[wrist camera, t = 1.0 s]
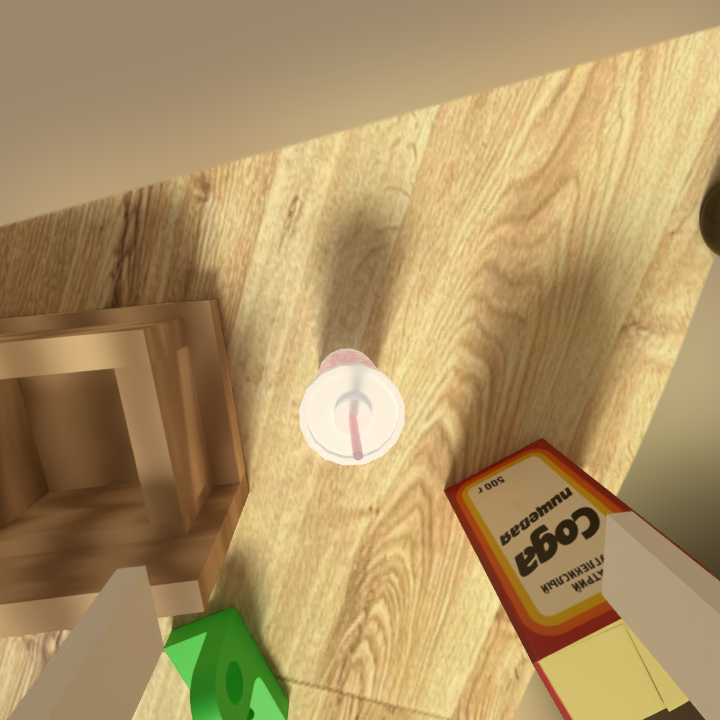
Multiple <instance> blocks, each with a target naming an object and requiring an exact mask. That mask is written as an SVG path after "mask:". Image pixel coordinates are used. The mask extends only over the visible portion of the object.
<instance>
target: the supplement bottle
mask: <svg viewBox="0 0 720 720" xmlns="http://www.w3.org/2000/svg"><path fill="white" fill-rule="evenodd" d="M700 226H701V233H702V236H703V239H704V241H705V243H706V245H707V246H708V247H709V248H710V250H711V251H713V252H714V253H715V254H717V255H718V256H720V182H719V183H718V184H717V185H716V186H715V187H714V188H713V190H712V191H711V192H710V194H709V196H708V197H707V199H706V201H705V203H704V206H703V209H702V213H701V220H700Z"/></svg>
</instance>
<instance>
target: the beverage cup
mask: <svg viewBox="0 0 720 720" xmlns="http://www.w3.org/2000/svg"><path fill="white" fill-rule="evenodd" d="M299 413H300V429H301V431H302V433H303V435H304V437H305V439H306V441H307V443H308V445H309V446H310V447H311V448H312V449H313V450H314V451H316V452H317V453H318V454H319V455H320V456H322V457H323V458H324V459H326V460H329V461H332V462H335V463H338V464H341V465H358V464H365V463H368V462H370V461H372V460H375V459H377V458H379V457H382V456H383V455H384V454H385V453H386V452H387V451H388V450H389V449H390V448H391V447H392V446H393V445H394V444H395V443H396V442H397V440H398V438H399V435H400V433H401V431H402V428H403V426H404V402H403V400H402V398H401V395H400V393H399V391H398V389H397V386H396V385H395V384H394V382H393V381H391V380H390V379H389V378H388V377H387V376H386V375H385V374H384V373H383V372H382V371H381V370H380V369H377V368H376V366H375V365H374V364H373V363H372V361H371V360H370V359H369V358H368V357H367V356H366V355H365V354H363V353H362V352H360V351H357V350H354V349H339V350H337V351H335V352H332V353H330V354H329V355H328V356H327V357H326V358H325V359H324V360H323V361H322V363H321V366H320V368H319V371H318V373H317V375H316V378H315V379H314V380H313V381H312V382H311V383H310V384H309V385H308V387H307V389H306V392H305V394H304V397H303V400H302V402H301V405H300V408H299Z"/></svg>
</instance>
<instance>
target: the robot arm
mask: <svg viewBox="0 0 720 720" xmlns="http://www.w3.org/2000/svg"><path fill="white" fill-rule="evenodd" d="M602 595H603V597H604V598H605V599H606V600H607V601H608V603H609V604H610V605H611V606H612V607H613V609H614V610H615V611H616V612H617V613H618V615H619V616H620V617H621V618H622V619H623V621H624V622H625V623H626V624H627V625H628V627H629V628H630V629H631V630H632V631H633V633H634V634H635V635H636V636H637V638H638V639H639V640H640V641H641V642H642V644H643V645H644V646H645V647H646V648H647V650H648V651H649V652H650V653H651V654H652V656H653V657H654V658H655V659H656V660H657V662H658V663H659V664H660V665H661V666H662V668H663V669H664V670H665V671H666V672H667V674H668V675H669V676H670V677H671V678H672V680H673V681H674V682H675V683H676V684H677V686H678V687H679V688H680V689H681V691H682V692H683V693H684V694H685V695H686V697H687V698H688V699H689V700H690V701H691V702H692V704H693V705H694V706H695V707H696V708H697V710H698V711H699V712H700V713H701V715H702V716H703V717H704V718H705V719H706V720H720V581H718V580H717V579H716V578H715V577H714V576H712V575H711V574H710V573H709V572H707V571H706V570H705V569H704V568H702V567H701V566H700V565H699V564H697V563H696V562H695V561H694V560H692V559H691V558H690V557H689V556H687V555H686V554H685V553H684V552H682V551H681V550H680V549H679V548H677V547H676V546H675V545H674V544H672V543H671V542H670V541H669V540H667V539H666V538H665V537H664V536H662V535H661V534H660V533H659V532H657V531H656V530H655V529H654V528H652V527H651V526H650V525H649V524H648V523H646V522H645V521H644V520H643V519H641V518H640V517H639V516H638V515H636V514H635V513H634V512H633V511H630V512H621V513H612V514H607V518H606V534H605V549H604V565H603V580H602ZM163 649H164V645H163V640H162V636H161V632H160V627H159V623H158V619H157V614H156V610H155V605H154V601H153V597H152V592H151V588H150V584H149V579H148V575H147V570H146V566H139V567H130V568H121V569H117V570H116V571H115V572H114V574H113V575H112V576H111V578H110V579H109V581H108V582H107V583H106V585H105V586H104V587H103V589H102V590H101V592H100V593H99V594H98V596H97V597H96V598H95V600H94V601H93V602H92V604H91V605H90V607H89V608H88V609H87V611H86V612H85V613H84V615H83V616H82V618H81V619H80V620H79V622H78V623H77V624H76V626H75V627H74V629H73V630H72V631H71V633H70V634H69V635H68V637H67V638H66V640H65V641H64V642H63V644H62V645H61V646H60V648H59V649H58V651H57V652H56V653H55V655H54V656H53V657H52V659H51V660H50V662H49V663H48V664H47V666H46V667H45V668H44V670H43V671H42V673H41V674H40V675H39V677H38V678H37V679H36V681H35V682H34V684H33V685H32V686H31V688H30V689H29V690H28V692H27V693H26V695H25V696H24V697H23V699H22V700H21V701H20V703H19V704H18V706H17V707H16V708H15V710H14V711H13V712H12V714H11V715H10V717H9V718H8V719H7V720H132V717H133V715H134V713H135V711H136V709H137V706H138V704H139V702H140V700H141V697H142V695H143V693H144V691H145V689H146V686H147V684H148V682H149V680H150V678H151V675H152V673H153V671H154V669H155V666H156V664H157V662H158V660H159V658H160V655H161V653H162V651H163Z"/></svg>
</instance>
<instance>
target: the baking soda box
mask: <svg viewBox="0 0 720 720" xmlns="http://www.w3.org/2000/svg"><path fill="white" fill-rule="evenodd" d="M444 492H445V494H446V496H447V498H448V500H449V502H450V504H451V506H452V508H453V509H454V511H455V513H456V515H457V517H458V519H459V521H460V523H461V525H462V527H463V529H464V531H465V533H466V535H467V537H468V539H469V541H470V543H471V545H472V547H473V549H474V551H475V552H476V554H477V556H478V558H479V560H480V562H481V564H482V566H483V568H484V570H485V572H486V574H487V576H488V578H489V580H490V582H491V584H492V586H493V588H494V590H495V592H496V593H497V595H498V597H499V599H500V601H501V603H502V605H503V607H504V609H505V611H506V613H507V615H508V617H509V619H510V621H511V623H512V625H513V627H514V629H515V631H516V633H517V634H518V636H519V638H520V640H521V642H522V644H523V646H524V648H525V650H526V652H527V654H528V656H529V658H530V660H531V662H532V664H533V666H534V667H535V669H536V671H537V672H538V674H539V676H540V678H541V679H542V681H543V683H544V685H545V686H546V688H547V690H548V692H549V693H550V695H551V697H552V698H553V700H554V702H555V704H556V705H557V707H558V709H559V711H560V713H561V714H562V716H563V718H564V719H565V720H643V719H644V718H646V717H649V716H651V715H652V714H655V713H656V712H659V711H661V710H663V709H665V708H667V709H668V711H671V710H673V709H675V708H677V707H679V706H680V705H682V704H684V703H686V702H687V701H689V699H688V698H687V697H686V695H685V694H684V693H683V692H682V691H681V689H680V688H679V687H678V686H677V684H676V683H675V682H674V681H673V680H672V678H671V677H670V676H669V675H668V674H667V672H666V671H665V670H664V669H663V668H662V666H661V665H660V664H659V663H658V662H657V660H656V659H655V658H654V657H653V656H652V654H651V653H650V652H649V651H648V650H647V648H646V647H645V646H644V645H643V644H642V642H641V641H640V640H639V639H638V638H637V636H636V635H635V634H634V633H633V631H632V630H631V629H630V628H629V627H628V625H627V624H626V623H625V622H624V621H623V619H622V618H621V617H620V616H619V615H618V613H617V612H616V611H615V610H614V609H613V607H612V606H611V605H610V604H609V603H608V601H607V600H606V599H605V598H604V597H603V595H602V580H603V565H604V549H605V534H606V518H607V514H612V513H621V512H630V511H633V510H632V509H631V508H630V507H629V506H627V505H626V504H625V503H624V502H622V501H621V500H620V499H619V498H617V497H616V496H615V495H613V494H612V493H611V492H610V491H608V490H607V489H606V488H605V487H603V486H602V485H601V484H600V483H598V482H597V481H596V480H594V479H593V478H592V477H591V476H589V475H588V474H587V473H586V472H584V471H583V470H582V469H581V468H579V467H578V466H577V465H576V464H574V463H573V462H572V461H570V460H569V459H568V458H567V457H565V456H564V455H563V454H562V453H560V452H559V451H558V450H557V449H555V448H554V447H553V446H551V445H550V444H549V443H548V442H546V441H545V440H544V439H543V438H542V439H540V440H538V441H536V442H534V443H532V444H530V445H529V446H527V447H525V448H523V449H521V450H519V451H517V452H515V453H514V454H512V455H510V456H508V457H506V458H504V459H502V460H501V461H499V462H497V463H495V464H493V465H491V466H489V467H487V468H486V469H484V470H482V471H480V472H478V473H476V474H474V475H473V476H471V477H469V478H467V479H465V480H463V481H461V482H460V483H458V484H456V485H454V486H452V487H450V488H448V489H446V490H445V491H444ZM633 512H634V513H635V514H636V515H638V516H639V517H640V518H641V519H643V520H644V521H645V522H646V523H648V524H649V525H650V526H651V527H652V528H654V529H655V530H656V531H657V532H659V533H660V534H661V535H662V536H664V537H665V538H666V539H667V540H669V541H670V542H671V543H672V544H674V545H675V546H676V547H677V548H679V549H680V550H681V551H682V552H684V553H685V554H686V555H687V556H689V557H690V558H691V559H692V560H694V561H695V562H696V563H697V564H699V565H700V566H701V567H702V568H704V569H705V570H706V571H707V572H709V573H710V574H711V575H712V576H713V573H712V572H711V571H710V570H708V569H707V568H706V567H705V566H703V565H702V564H701V563H699V562H698V561H697V560H696V559H694V558H693V557H692V556H691V555H689V554H688V553H687V552H686V551H684V550H683V549H682V548H680V547H679V546H678V545H677V544H675V543H674V542H673V541H672V540H670V539H669V538H668V537H667V536H665V535H664V534H663V533H662V532H660V531H659V530H658V529H656V528H655V527H654V526H653V525H651V524H650V523H649V522H647V521H646V520H645V519H644V518H643V517H641V516H640V515H639V514H637V513H636V512H635V511H633Z"/></svg>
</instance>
